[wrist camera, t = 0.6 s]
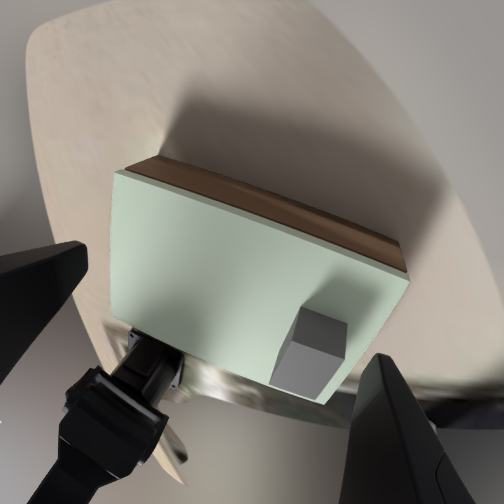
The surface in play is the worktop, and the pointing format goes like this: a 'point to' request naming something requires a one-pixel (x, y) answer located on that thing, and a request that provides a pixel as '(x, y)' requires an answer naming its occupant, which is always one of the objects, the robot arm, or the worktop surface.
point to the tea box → (274, 209)
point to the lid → (243, 288)
